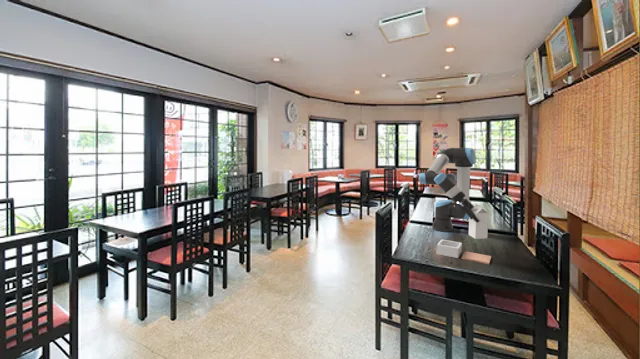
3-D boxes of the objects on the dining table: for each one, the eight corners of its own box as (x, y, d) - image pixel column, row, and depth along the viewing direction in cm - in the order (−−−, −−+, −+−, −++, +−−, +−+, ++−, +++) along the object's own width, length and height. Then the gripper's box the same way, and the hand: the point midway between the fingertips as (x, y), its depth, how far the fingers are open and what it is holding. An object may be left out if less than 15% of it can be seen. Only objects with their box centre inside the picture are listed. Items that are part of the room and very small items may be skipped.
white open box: (441, 248, 185) (441, 239, 184) (461, 252, 178) (461, 242, 177) (436, 253, 175) (436, 244, 175) (457, 258, 168) (458, 248, 168)
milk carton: (480, 234, 170) (481, 203, 168) (487, 238, 163) (488, 206, 160) (468, 235, 170) (469, 204, 167) (475, 239, 163) (476, 206, 160)
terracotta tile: (464, 252, 177) (465, 251, 177) (491, 257, 169) (491, 256, 169) (461, 259, 167) (461, 257, 167) (489, 264, 159) (489, 262, 159)
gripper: (454, 195, 182) (481, 223, 174) (446, 201, 163) (476, 232, 156) (464, 188, 178) (491, 216, 171) (457, 193, 160) (487, 224, 153)
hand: (484, 224), depth 163 cm, fingers closed on milk carton, 10 cm apart
